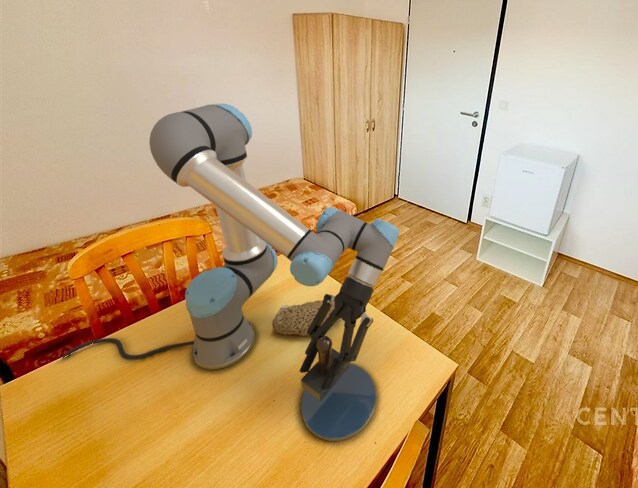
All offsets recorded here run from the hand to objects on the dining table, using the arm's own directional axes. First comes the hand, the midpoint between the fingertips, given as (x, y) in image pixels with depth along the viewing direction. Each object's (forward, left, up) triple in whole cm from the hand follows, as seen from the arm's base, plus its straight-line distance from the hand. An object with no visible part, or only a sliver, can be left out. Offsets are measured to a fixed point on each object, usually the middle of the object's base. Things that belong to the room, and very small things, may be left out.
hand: (314, 379), depth 71 cm
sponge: (-8, +25, -12) cm, 29 cm away
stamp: (+2, +3, -3) cm, 5 cm away
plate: (+5, +3, -12) cm, 14 cm away
